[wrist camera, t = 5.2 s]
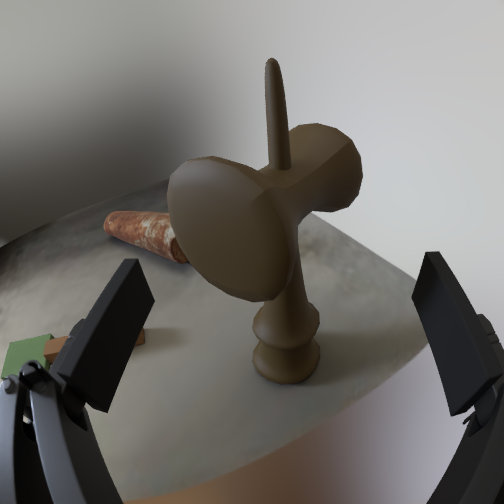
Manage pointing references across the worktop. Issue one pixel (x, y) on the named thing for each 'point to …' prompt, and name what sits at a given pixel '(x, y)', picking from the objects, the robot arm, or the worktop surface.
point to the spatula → (37, 352)
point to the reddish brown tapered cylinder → (146, 232)
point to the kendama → (266, 227)
